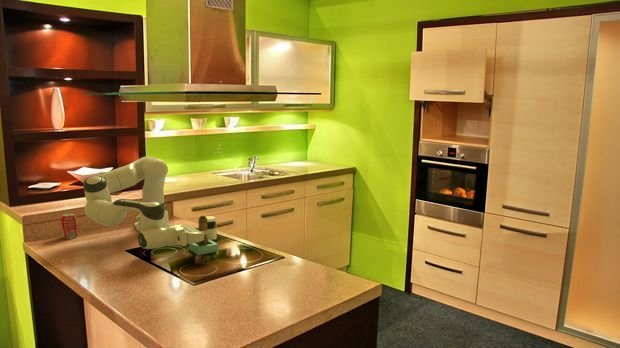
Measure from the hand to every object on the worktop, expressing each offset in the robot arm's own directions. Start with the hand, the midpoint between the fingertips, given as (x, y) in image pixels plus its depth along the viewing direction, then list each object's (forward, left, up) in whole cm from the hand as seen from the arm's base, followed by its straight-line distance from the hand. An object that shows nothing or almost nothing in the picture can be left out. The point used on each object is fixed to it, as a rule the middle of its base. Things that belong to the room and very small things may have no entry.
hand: (205, 230), depth 229 cm
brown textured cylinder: (0, -1, -7) cm, 7 cm away
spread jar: (-16, +7, -10) cm, 20 cm away
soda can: (-58, -48, -10) cm, 76 cm away
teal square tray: (0, -1, -10) cm, 10 cm away
